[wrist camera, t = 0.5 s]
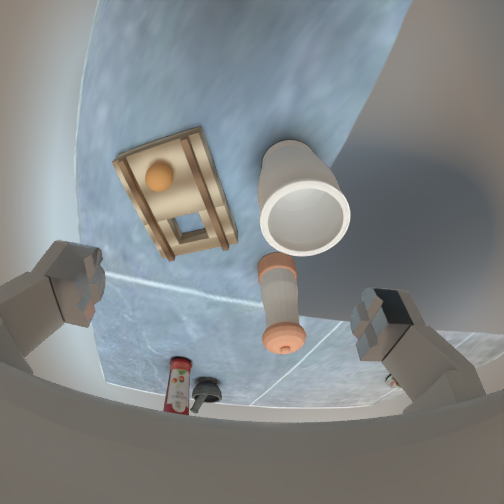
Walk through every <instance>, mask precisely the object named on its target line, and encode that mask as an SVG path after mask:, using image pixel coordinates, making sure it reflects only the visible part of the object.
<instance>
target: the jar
mask: <svg viewBox="0 0 504 504" xmlns="http://www.w3.org/2000/svg"><path fill="white" fill-rule="evenodd" d="M257 194H258V203H259V208H260V226H261V230H262V233H263V236H264V237H265V239H266V240H267V242H268V243H269V244H270V245H271V246H272V247H274V248H275V249H277V250H278V251H280V252H282V253H285V254H288V255H293V256H310V255H315V254H319V253H321V252H324V251H326V250H328V249H330V248H331V247H333V246H334V245H335V244H336V243H338V242H339V241H340V240H341V238H342V237H343V236H344V234H345V233H346V231H347V229H348V226H349V223H350V208H349V205H348V203H347V200H346V198H345V196H344V195H343V194H342V192H341V191H340V189H339V186H338V183H337V181H336V179H335V177H334V175H333V173H332V172H331V170H330V169H329V168H328V166H327V165H326V164H325V163H324V162H323V161H322V160H321V159H320V158H319V157H318V156H316V155H315V154H314V153H313V151H312V150H311V149H310V148H309V147H308V146H307V145H305V144H304V143H302V142H299V141H295V140H285V141H281V142H278V143H276V144H274V145H273V146H272V147H270V148H269V149H268V151H267V152H266V153H265V155H264V158H263V162H262V170H261V174H260V178H259V182H258V191H257Z"/></svg>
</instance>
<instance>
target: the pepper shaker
mask: <svg viewBox="0 0 504 504" xmlns="http://www.w3.org/2000/svg"><path fill="white" fill-rule="evenodd" d="M258 279H259V283H260V285H261V298H262V301H263V305H264V309H265V314H266V328H267V329H266V330H265V332H264V333H263V336H262V341H263V344H264V346H265V347H266V348H267V349H268V350H269V351H271V352H273V353H277V354H288V353H292V352H294V351H297V350H298V349H300V348H301V347H302V346H303V344H304V342H305V339H306V333H305V331H304V329H303V328H302V327H301V326H300V324H299V317H298V310H297V301H298V289H297V284H296V279H297V273H296V267H295V262H294V260H293V259H292V257H291V256H289V255H287V254H285V253H280V252H278V253H271V254H268V255H266V256H264V257H263V258H262V259H261V260H260V261H259V263H258Z"/></svg>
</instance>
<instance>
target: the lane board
mask: <svg viewBox="0 0 504 504" xmlns="http://www.w3.org/2000/svg"><path fill="white" fill-rule="evenodd" d="M158 163H161V164H165V165H167V166H168V167H169V168H170V169H171V171H172V173H173V181H172V184H171V185H170V187H169V188H168V189H166V190H164V191H161V192H156V191H153V190H151V189H150V188H149V187H148V186H147V184H146V182H145V175H146V172H147V170H148V169H149V168H150V167H151V166H152V165H154V164H158ZM112 164H113V166H114V168H115V170H116V172H117V174H118V176H119V178H120V180H121V182H122V184H123V186H124V188H125V190H126V192H127V194H128V196H129V198H130V199H131V201H132V203H133V205H134V207H135V209H136V211H137V213H138V215H139V216H140V218H141V220H142V222H143V224H144V226H145V227H146V229H147V231H148V233H149V235H150V236H151V238H152V240H153V242H154V244H155V245H156V247H157V249H158V251H159V252H160V254H161V256H162V258H167V259H168V260H169V262H170V261H174V259H175V256H177V255H182V254H187V253H192V252H196V251H201V250H206V249H211V248H216V247H222V249H223V251H224V250H229V245H231V244H236V243H238V231H237V228H236V225H235V222H234V219H233V216H232V214H231V211H230V208H229V205H228V202H227V199H226V196H225V193H224V190H223V187H222V185H221V182H220V179H219V176H218V173H217V170H216V167H215V164H214V161H213V158H212V155H211V152H210V150H209V147H208V144H207V141H206V138H205V135H204V132H203V129H202V126H200V127H197V128H194V129H190V130H187V131H184V132H181V133H177V134H174V135H171V136H168V137H165V138H162V139H159V140H156V141H153V142H151V143H148V144H145V145H142V146H139V147H137V148H134V149H131V150H129V151H126V152H124V153H121V154H119V155H118V156H117V157H116V158H115V159H114V161H113V162H112ZM195 212H199V215H200V217H201V219H202V222H203V224H204V227H205V229H200V230H196V231H192V232H187V233H183V234H182V233H181V230H180V228H179V226H178V224H177V222H176V220H175V218H174V217H178V216H182V215H186V214H191V213H195Z"/></svg>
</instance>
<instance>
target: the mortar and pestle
mask: <svg viewBox="0 0 504 504" xmlns="http://www.w3.org/2000/svg"><path fill="white" fill-rule="evenodd" d="M216 384H217V381H216V379H214V378H211V377H202V378H200V379H199V384H197V385H196V387H195V388H194V389H193V393H192V397H193V398H194V399H195V402H194V405H193V407H192V408H191V409H190V410H191V411H192V412H193V413H198V410H199V408H200V407H201V405H202V403H203V402H206V403H214V402H219V401H220V400H222V395H221V391H220V389H219V387H218V386H217V385H216Z"/></svg>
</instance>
